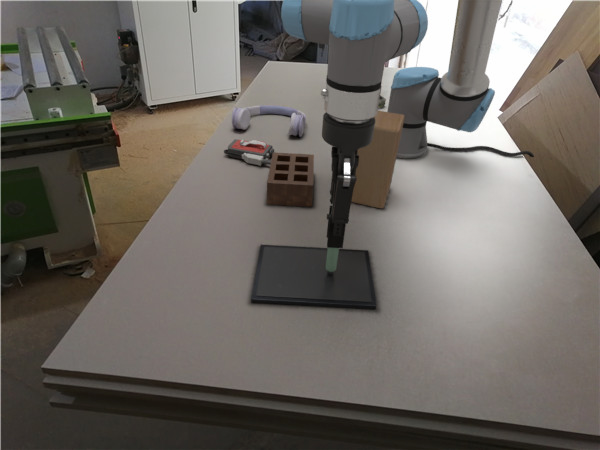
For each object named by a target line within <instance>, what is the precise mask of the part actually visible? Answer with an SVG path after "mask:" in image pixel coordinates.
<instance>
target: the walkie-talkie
mask: <svg viewBox="0 0 600 450" xmlns="http://www.w3.org/2000/svg"><path fill="white" fill-rule="evenodd" d="M273 152H275V149H274V148H273V145H272V144H268V143H267V142H265V141H261V140H260V141H259V140H256V139H252V140H250V141H249V140H245V139H244V138H243V139H233V140H232V141H231V142H230V143H229V144H228V145H227V149H224V150H223V154H224V155H227V156H228V157H230V158H234V159H239V160H243V161H244V162H245V163H247V164H250V165H255V166H260V167H262V165H269V166H270V165H271V160H270V158H271V157H272V155H273Z"/></svg>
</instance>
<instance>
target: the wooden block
mask: <svg viewBox="0 0 600 450" xmlns="http://www.w3.org/2000/svg"><path fill="white" fill-rule="evenodd" d="M374 118H375V120H376V121H375V127H374V133H373V139H372V142H371V143H370V144H369V145H368V146H366V147H363V148H360V149H358V151H357V155H359V163H358V167H357V168H356V174H355V175H356V178H357V180H356V182H355V186H354V189H353V195H352V201H351V203H355V204H359V205H364V206H367V207H372V208H377V209H385V205H386V202H387V199H388V196H389V192H390V190H391V185H392V180H393V176H394V170H395V165H396V161H397V158H396V157H397V152H398V147H399V142H400V137H401V132H402V128H403V123H404V118H405V116H404V115H402V114H396V113H390V112H387V111H383V110H379V109H378V110H377V115H376V116H374Z"/></svg>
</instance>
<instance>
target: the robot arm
mask: <svg viewBox="0 0 600 450" xmlns="http://www.w3.org/2000/svg"><path fill="white" fill-rule="evenodd" d="M457 1H458V2H457V6H456V7H457V8H456V14H455V21H454V28H453V33H452V34H453V35H452V42H451V49H450V56H449V62H448V69H447V71H446V72H445V73H444V74H443V75H442V76H441V77H439V76H440V73H439V70H438V69H436V68H433V67H428V66H427V67H426V66H411V67H405V68H401V69H399V70H397V71H396V72H395V74H394V76H393V79H392V83H391V86H390V93H389V99H388V105H387V111H386V112H390V113H396V114H402V115H404V116H405V118H404V123H403V128H402V132H401V137H400V142H399V147H398V152H397V157H396V159H402V160H403V159H405V160H412V159H418V158H421V157H423V156H424V155H425V154H426V153H427V150H428V147H430V148H435V149H439V150H442V151H449V152H469V151H475V150H487V151H492V152H494V153H497V154H500V155H503V156H508V157H518V156H522V155H528V156H529V157H530V158H535V155H534V153H533V152H531V151H529V150H523V151H518V152H517V151H516V152H508V151H504V150H500V149H498V148H496V147H492V146H486V145H475V146H470V147H468V146H467V147H450V146H442V145H439V144H435V143H431V142H430V143H429V142H428V136H427V122H429V123H432V124H436V125H439V126H443V127H446V128H449V129H453V130H456V131H458V132H459V131H461V132H466V133H473V132H475V131H477V129H478V128H479V127H480V125H481V123H482V122H483V120H484V119H485V116H486V114H487V112H488V111H489V108H490V106H491V104H492V102H493V99H494V98H495V97H494V96H495V94H496V91H495V90H494V89H493V88H492V87H490V82H491V81H490V78H489V76H488V75H487V74H486V70H487V66H488V62H489V57H490V53H491V49H492V45H493V40H494V36H495V31H496V27H497V22H498V18H499V14H500V10H501V5H502V1H503V0H457ZM280 17H281V21H282V22H281V23H282V27H283V29H284V31H285V33H287V34H288V36H290V37H292V38H293V37H294V38H297V39H299V40H303V41H305V42H307V43H309V42H310V43H311V42H312V43H315V44H321V45H326V46H328V55H327V71H326V73H327V74H326V78H325V79H326V80H325V83H326V84H325V88H322V89H321V90H320V95H321V96H322V97H324V107H323V109H324V113H323V116H322V127H321V138H322V140H323V141H324V142H325V143H326V144H327V145H329V146H331V150H330V152H331V153H330V154H331V165H330V167H331V183H330V190H329V194H330V199H329V203H330V205H329V207H328V208H329V210H328V213H326V220H327V227H326V239H327V240H326V241H327V242H326V248H339V249H344V248H343V247H344V241H345V234H346V226H347V224H349V221H350V213H351V206H352V202H351V201H352V195H353V189H354V186H355V182H356V180H357V178H356V175H355V174H356V168H357V167H358V163H359V155H357V151H358V149H360V148H363V147H366V146H368V145H369V144H370V143H371V142H372V139H373V133H374V127H375V121H376V120H375V118H374V116H376V115H377V110H378V111H379V107H378V104H379V99H380V95H381V93H382V87H383V86H382V82H383V76H384V71H385V65H386V63H387V62H388V61H391V60H393V59H396V58H398V57H402V56H404V55H407V54H408V53H411V51H412V50H413V49H416V47H418V46H419V45H420V44H421V43H422V41H424V39H425V37H426V34H427V32H428V26H429V19H428V18H429V17H428V13H427V10H426V9H425V7H424V6H423V4H422V3H421V2H420V1H419V0H282V4H281V11H280ZM325 96H326V97H325ZM332 203H333V205H332ZM331 213H332V214H331Z"/></svg>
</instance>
